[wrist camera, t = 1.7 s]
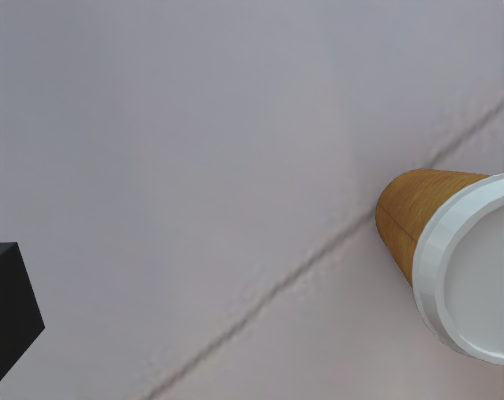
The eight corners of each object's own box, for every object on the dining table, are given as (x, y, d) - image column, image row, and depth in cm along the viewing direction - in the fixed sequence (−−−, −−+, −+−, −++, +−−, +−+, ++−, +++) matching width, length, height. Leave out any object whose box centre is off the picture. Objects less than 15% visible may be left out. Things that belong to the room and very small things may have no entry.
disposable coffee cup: (513, 203, 33) (672, 265, 21) (419, 301, 34) (521, 410, 22) (419, 115, 31) (536, 130, 19) (323, 222, 32) (380, 296, 21)
